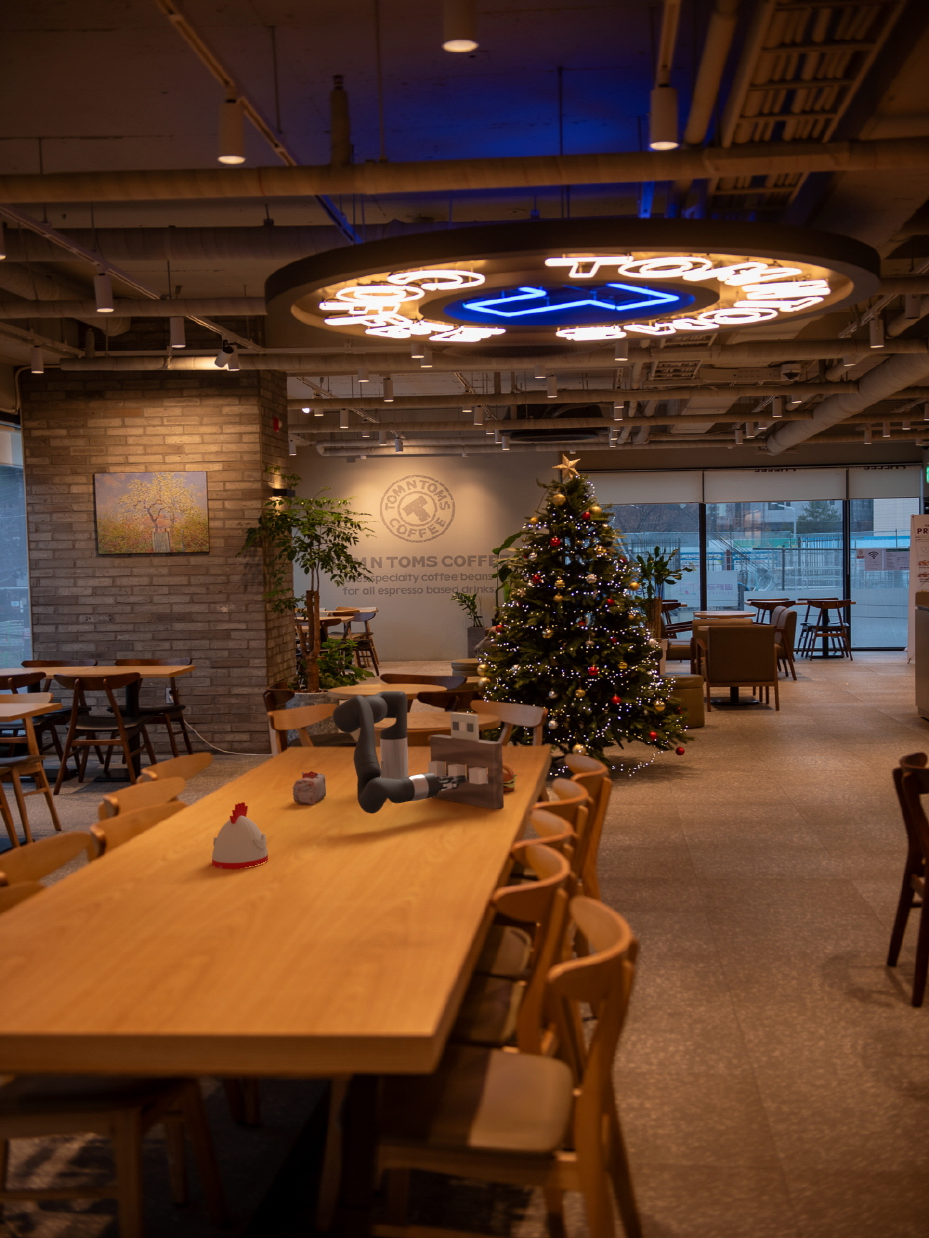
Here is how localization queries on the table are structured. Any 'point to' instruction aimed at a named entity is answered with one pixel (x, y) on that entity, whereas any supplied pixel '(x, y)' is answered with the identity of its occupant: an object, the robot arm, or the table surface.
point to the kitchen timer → (239, 842)
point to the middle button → (456, 770)
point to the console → (472, 756)
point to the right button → (478, 775)
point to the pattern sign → (464, 726)
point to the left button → (437, 768)
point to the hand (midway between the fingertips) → (464, 778)
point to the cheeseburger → (508, 778)
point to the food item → (309, 788)
